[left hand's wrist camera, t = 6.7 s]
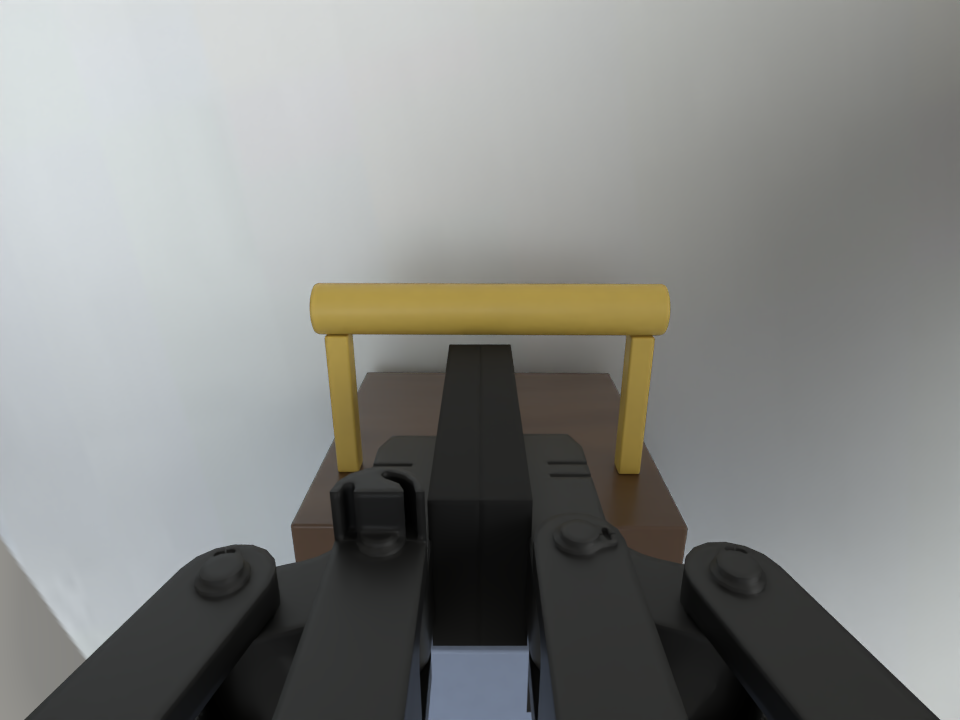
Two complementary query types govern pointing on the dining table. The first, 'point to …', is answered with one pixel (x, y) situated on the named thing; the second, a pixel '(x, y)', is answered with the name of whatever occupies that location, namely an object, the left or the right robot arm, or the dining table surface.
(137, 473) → the dining table surface
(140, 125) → the dining table surface
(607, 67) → the dining table surface
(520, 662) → the cabinet
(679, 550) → the drawer
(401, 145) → the dining table surface
